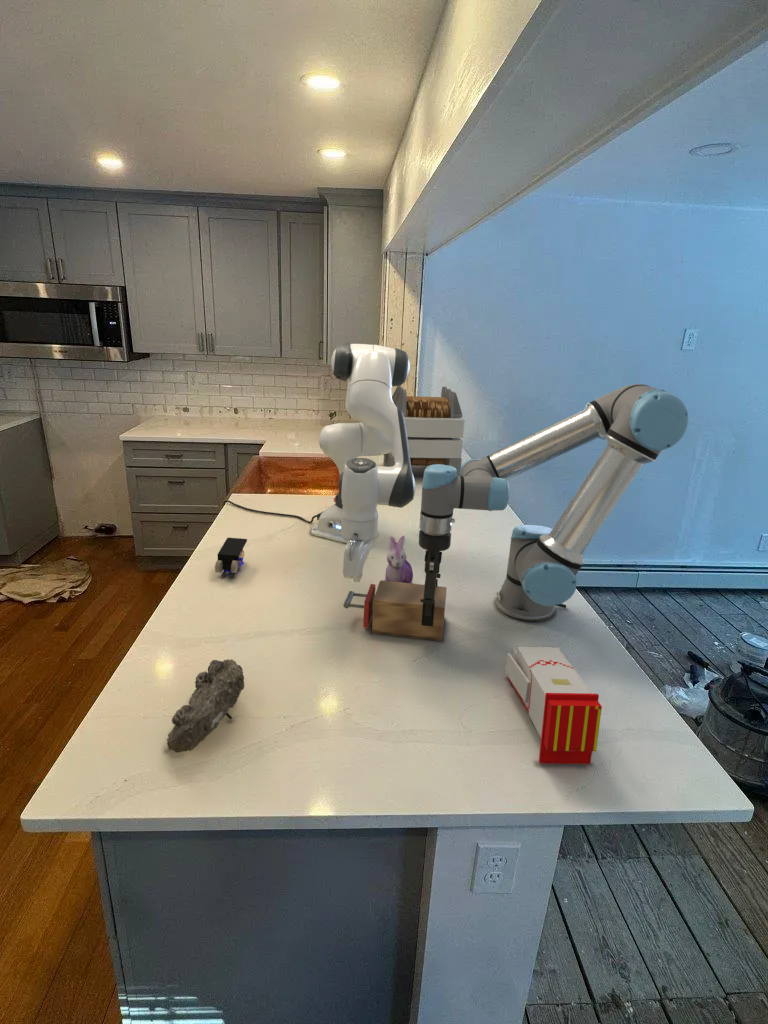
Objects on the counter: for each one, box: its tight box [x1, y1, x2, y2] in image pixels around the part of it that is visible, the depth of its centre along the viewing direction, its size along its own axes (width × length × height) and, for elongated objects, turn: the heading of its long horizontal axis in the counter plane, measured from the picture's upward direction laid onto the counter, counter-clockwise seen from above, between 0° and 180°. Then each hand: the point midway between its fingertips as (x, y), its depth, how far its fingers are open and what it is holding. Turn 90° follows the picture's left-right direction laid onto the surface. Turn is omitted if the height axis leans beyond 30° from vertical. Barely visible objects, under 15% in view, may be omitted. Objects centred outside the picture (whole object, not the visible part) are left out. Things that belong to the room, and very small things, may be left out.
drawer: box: [342, 583, 376, 629], centre depth 142 cm, size 21×10×7 cm, turn 82°
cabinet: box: [371, 579, 448, 642], centre depth 141 cm, size 17×11×9 cm, turn 82°
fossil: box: [166, 658, 245, 754], centre depth 106 cm, size 22×10×15 cm
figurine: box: [384, 535, 414, 584], centre depth 160 cm, size 9×10×15 cm
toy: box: [504, 646, 603, 765], centre depth 112 cm, size 12×13×30 cm
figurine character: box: [214, 537, 248, 578], centre depth 166 cm, size 7×8×15 cm
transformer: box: [383, 385, 465, 476], centre depth 268 cm, size 34×33×41 cm
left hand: (357, 579), depth 140 cm, fingers closed
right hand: (428, 613), depth 140 cm, fingers closed on cabinet, 11 cm apart
